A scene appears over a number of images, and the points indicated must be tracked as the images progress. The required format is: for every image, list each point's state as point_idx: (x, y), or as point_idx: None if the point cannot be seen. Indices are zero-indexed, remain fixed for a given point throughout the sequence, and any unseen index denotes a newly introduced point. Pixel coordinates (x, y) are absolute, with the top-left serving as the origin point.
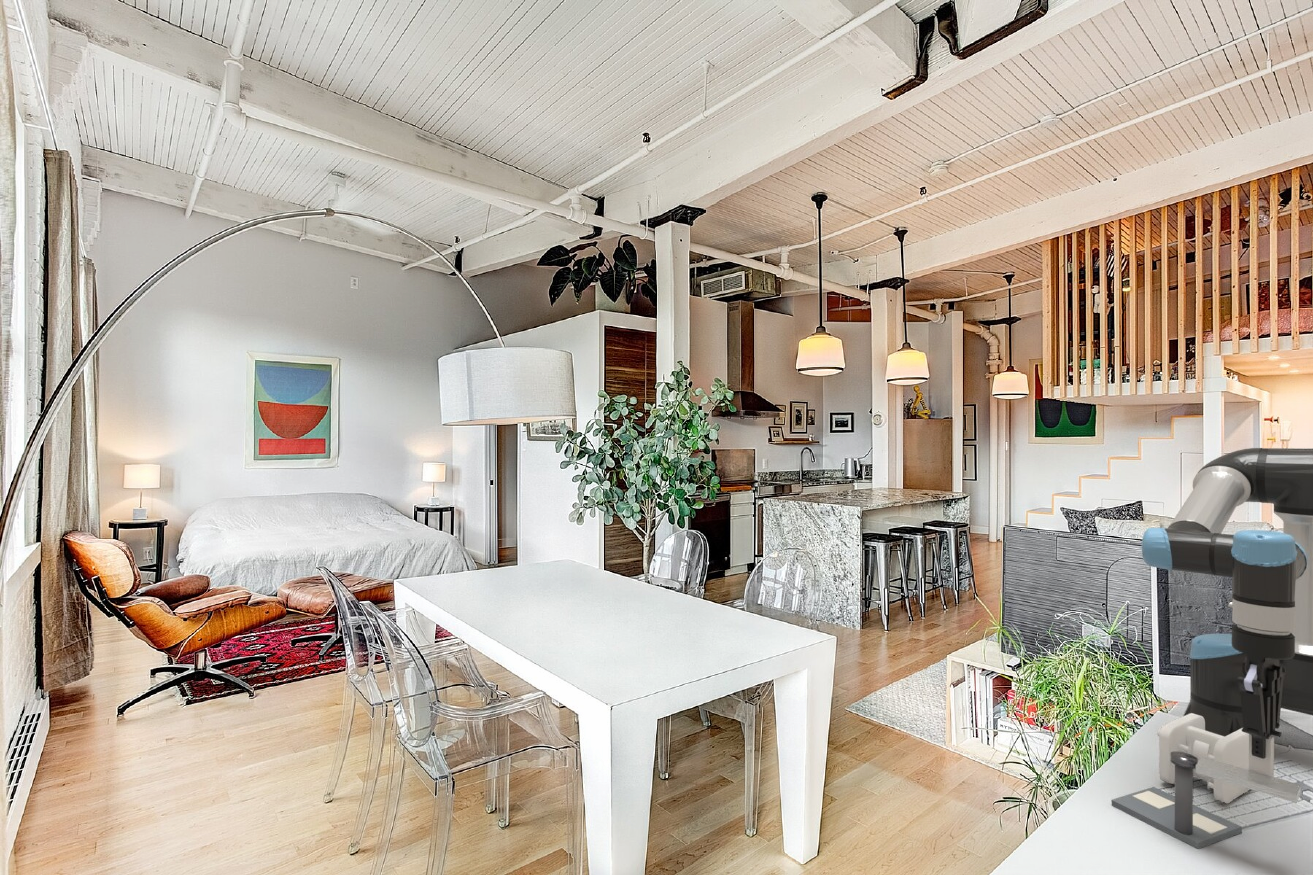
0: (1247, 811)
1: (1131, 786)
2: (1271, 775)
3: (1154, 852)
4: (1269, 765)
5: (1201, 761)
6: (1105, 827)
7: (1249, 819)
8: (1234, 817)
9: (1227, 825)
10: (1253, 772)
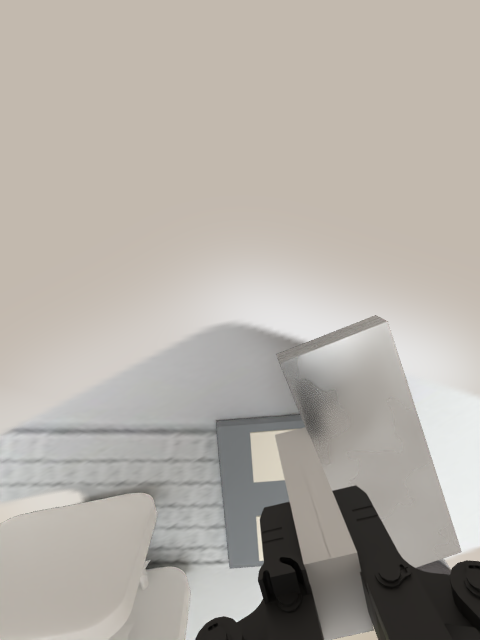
0: (120, 464)
1: (251, 582)
2: (298, 436)
3: (446, 426)
4: (317, 460)
5: (412, 562)
6: (446, 502)
7: (149, 445)
8: (171, 457)
9: (239, 437)
10: (335, 467)
